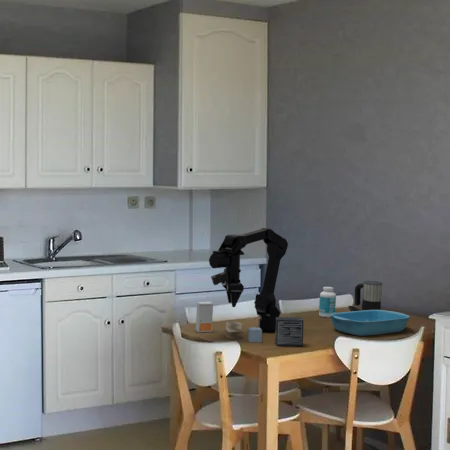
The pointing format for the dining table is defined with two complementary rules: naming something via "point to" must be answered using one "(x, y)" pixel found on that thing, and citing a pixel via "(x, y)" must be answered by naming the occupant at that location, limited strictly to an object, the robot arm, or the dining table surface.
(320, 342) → the dining table surface
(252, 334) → the blue cube
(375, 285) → the milk frother
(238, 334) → the tower base
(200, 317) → the skincare box
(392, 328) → the casserole dish
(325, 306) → the pill bottle
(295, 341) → the small box
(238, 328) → the tower mid
